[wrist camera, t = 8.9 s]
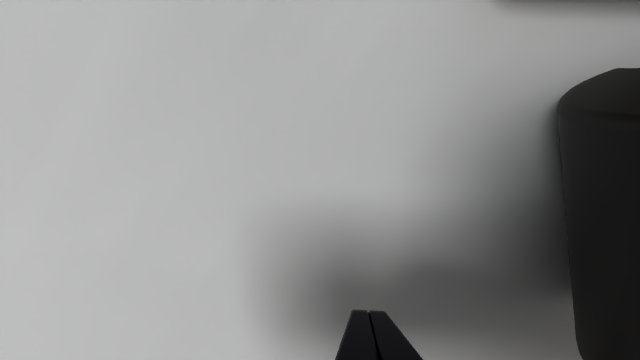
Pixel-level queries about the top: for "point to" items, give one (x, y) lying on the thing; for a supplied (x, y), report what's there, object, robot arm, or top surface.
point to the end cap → (603, 211)
